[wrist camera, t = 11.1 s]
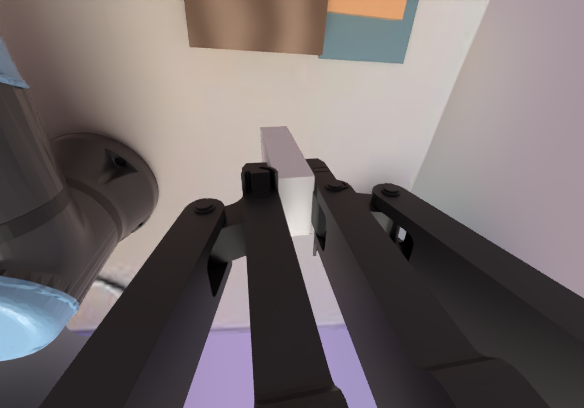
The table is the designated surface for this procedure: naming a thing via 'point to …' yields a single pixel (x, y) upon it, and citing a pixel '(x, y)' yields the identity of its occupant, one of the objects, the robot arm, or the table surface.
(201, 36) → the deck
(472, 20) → the table surface
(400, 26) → the mat
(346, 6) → the tile
